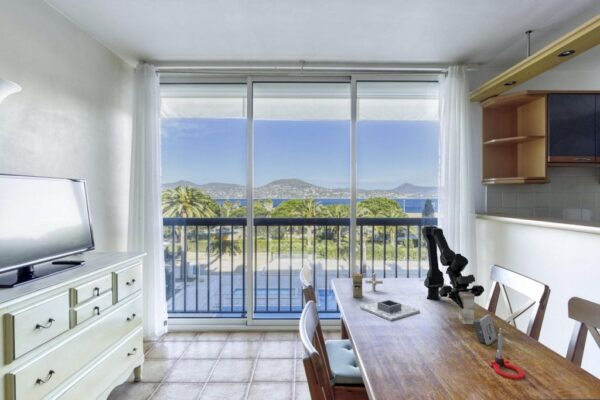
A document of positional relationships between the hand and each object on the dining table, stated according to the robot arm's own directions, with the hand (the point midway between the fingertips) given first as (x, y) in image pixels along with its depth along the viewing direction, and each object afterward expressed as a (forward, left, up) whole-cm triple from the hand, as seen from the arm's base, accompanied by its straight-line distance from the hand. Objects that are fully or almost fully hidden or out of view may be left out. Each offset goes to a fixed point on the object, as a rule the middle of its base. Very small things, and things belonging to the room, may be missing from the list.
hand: (468, 308), depth 149 cm
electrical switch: (+16, +6, -7) cm, 18 cm away
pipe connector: (-31, -51, -7) cm, 60 cm away
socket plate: (-1, -35, -7) cm, 35 cm away
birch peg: (-1, -1, -7) cm, 7 cm away
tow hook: (+39, +12, -7) cm, 41 cm away
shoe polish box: (-16, -56, -7) cm, 58 cm away
